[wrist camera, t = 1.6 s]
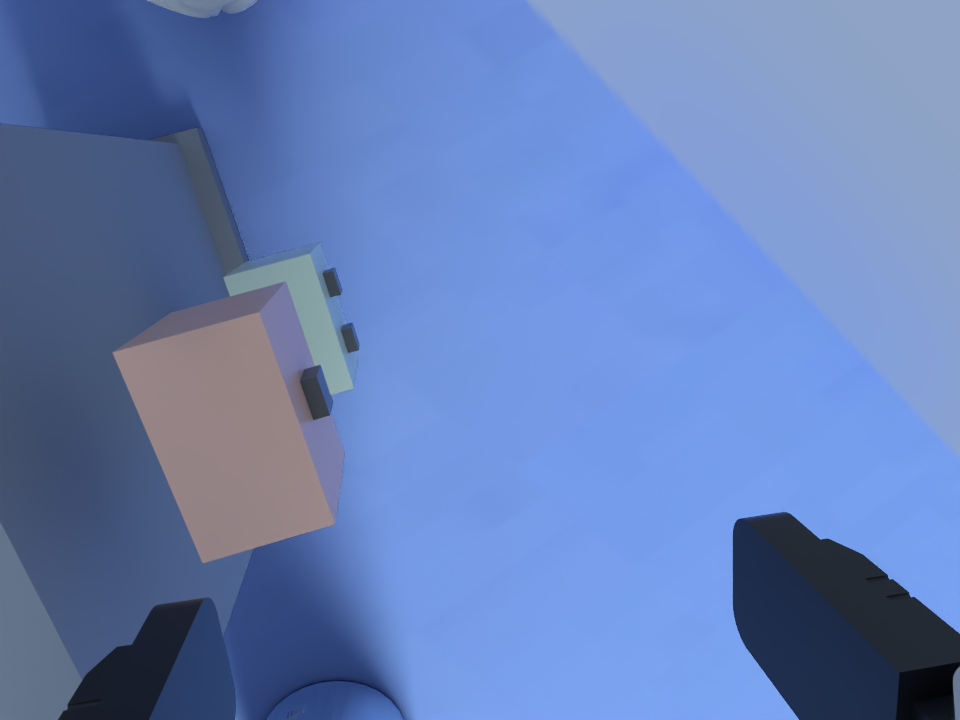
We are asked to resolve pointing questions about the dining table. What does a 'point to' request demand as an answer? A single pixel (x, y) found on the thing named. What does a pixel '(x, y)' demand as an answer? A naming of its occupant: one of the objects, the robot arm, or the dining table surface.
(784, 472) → the dining table surface
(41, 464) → the large grey rectangular box
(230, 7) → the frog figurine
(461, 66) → the dining table surface
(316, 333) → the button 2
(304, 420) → the pink rectangular block
